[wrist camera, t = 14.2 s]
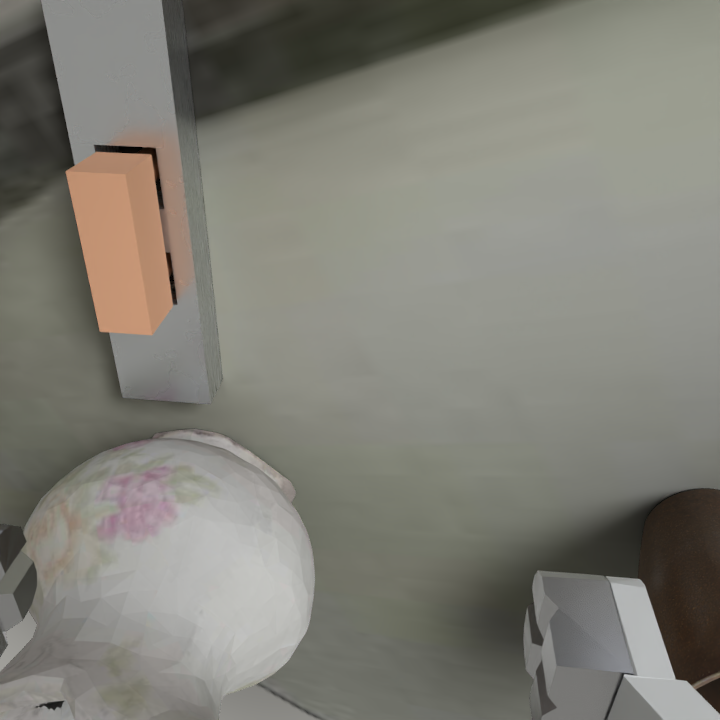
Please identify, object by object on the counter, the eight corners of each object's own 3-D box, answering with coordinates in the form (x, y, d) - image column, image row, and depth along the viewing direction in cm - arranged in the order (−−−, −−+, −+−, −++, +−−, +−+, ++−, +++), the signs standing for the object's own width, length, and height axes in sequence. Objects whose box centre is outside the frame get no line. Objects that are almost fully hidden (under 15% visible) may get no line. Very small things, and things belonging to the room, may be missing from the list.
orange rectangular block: (122, 135, 39) (65, 171, 33) (173, 137, 39) (125, 174, 33) (145, 278, 44) (99, 331, 38) (191, 280, 43) (152, 335, 38)
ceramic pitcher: (192, 594, 62) (94, 943, 42) (9, 473, 54) (-226, 833, 33) (375, 493, 53) (363, 871, 33) (190, 330, 45) (23, 700, 25)
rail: (67, -16, 35) (38, -12, 32) (180, -12, 35) (160, -8, 32) (139, 373, 48) (122, 397, 45) (222, 379, 47) (210, 404, 45)
